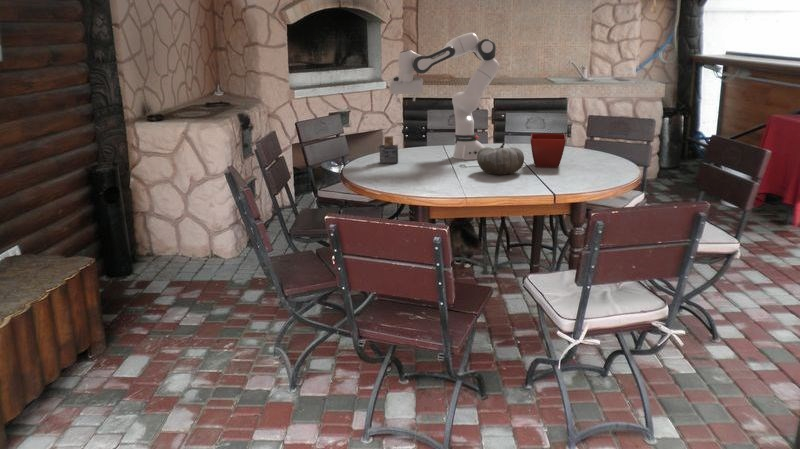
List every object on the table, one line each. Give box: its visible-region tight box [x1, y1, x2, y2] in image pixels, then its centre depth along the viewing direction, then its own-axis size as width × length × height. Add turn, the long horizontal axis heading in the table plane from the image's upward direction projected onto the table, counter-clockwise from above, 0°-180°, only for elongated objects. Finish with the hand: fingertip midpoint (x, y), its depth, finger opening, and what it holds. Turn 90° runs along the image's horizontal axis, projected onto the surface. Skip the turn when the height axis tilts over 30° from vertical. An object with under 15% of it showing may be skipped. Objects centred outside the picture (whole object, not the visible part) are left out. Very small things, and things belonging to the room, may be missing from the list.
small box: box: [378, 144, 399, 165], centre depth 410 cm, size 11×6×10 cm, turn 84°
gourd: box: [476, 142, 525, 176], centre depth 376 cm, size 25×25×17 cm
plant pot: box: [530, 132, 567, 169], centre depth 393 cm, size 19×19×17 cm
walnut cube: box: [383, 135, 394, 146], centre depth 407 cm, size 5×5×5 cm
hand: (406, 101), depth 419 cm, fingers open, 8 cm apart
